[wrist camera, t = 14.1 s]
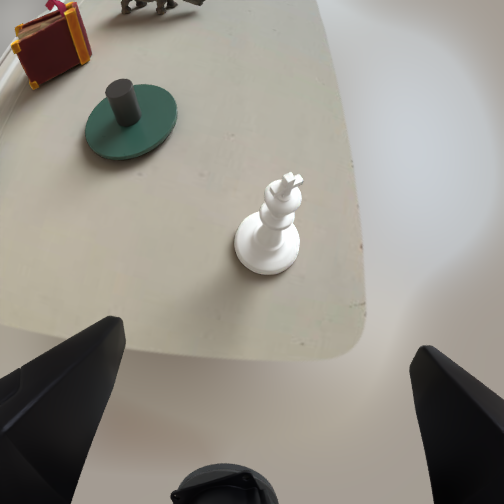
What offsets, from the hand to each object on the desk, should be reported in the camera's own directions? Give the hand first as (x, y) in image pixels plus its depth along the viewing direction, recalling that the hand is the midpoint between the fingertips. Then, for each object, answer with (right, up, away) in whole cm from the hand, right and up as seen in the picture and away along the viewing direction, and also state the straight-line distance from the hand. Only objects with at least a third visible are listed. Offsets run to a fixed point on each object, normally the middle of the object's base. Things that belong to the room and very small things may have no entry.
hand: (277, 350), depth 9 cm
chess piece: (0, +3, +16) cm, 16 cm away
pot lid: (-12, +15, +18) cm, 26 cm away
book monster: (-25, +28, +22) cm, 44 cm away
